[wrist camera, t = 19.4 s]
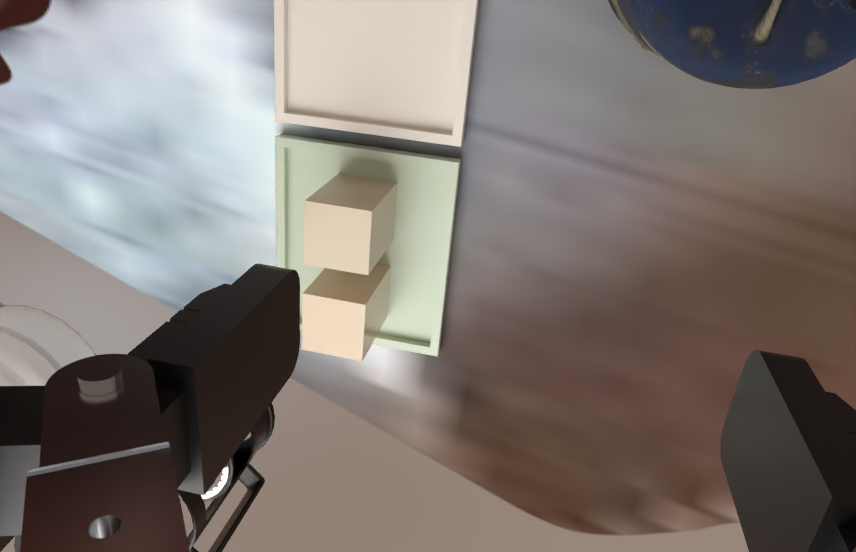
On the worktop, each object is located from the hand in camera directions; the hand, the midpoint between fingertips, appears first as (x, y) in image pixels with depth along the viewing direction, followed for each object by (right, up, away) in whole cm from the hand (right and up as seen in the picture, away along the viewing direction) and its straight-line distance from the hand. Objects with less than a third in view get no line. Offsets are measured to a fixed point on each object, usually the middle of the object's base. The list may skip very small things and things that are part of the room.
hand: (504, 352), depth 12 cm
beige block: (-5, +6, +32) cm, 33 cm away
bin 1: (-4, +18, +26) cm, 32 cm away
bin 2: (-6, +3, +33) cm, 34 cm away
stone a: (-6, +1, +34) cm, 35 cm away
